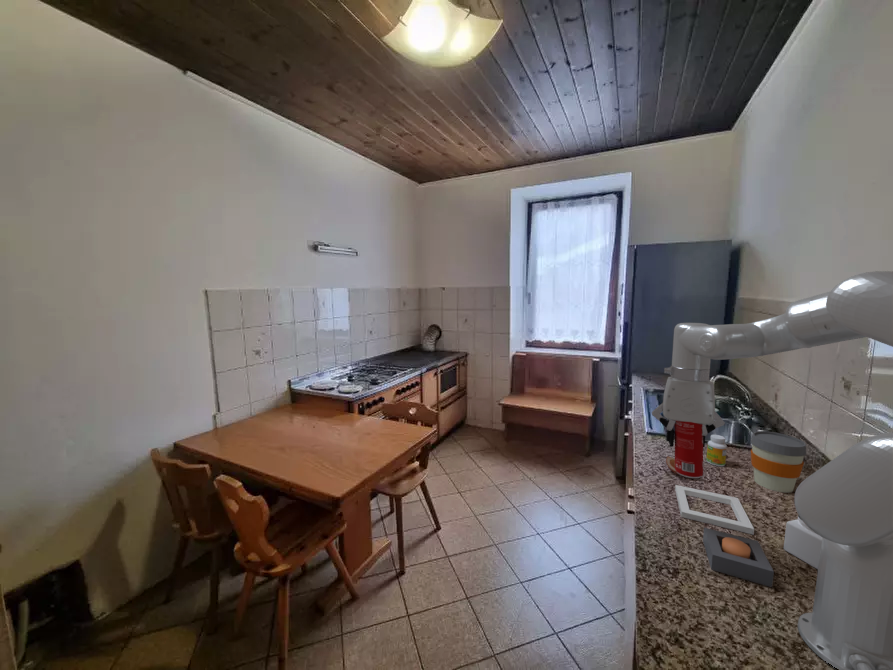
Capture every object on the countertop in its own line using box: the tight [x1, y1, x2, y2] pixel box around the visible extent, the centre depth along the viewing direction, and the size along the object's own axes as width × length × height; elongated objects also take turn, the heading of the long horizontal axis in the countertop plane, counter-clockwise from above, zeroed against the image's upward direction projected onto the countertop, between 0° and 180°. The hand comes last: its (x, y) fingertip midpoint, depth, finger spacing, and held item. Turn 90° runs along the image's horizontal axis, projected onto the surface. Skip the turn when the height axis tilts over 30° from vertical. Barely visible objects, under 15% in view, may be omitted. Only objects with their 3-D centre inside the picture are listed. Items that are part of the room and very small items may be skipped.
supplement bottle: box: [705, 434, 728, 467], centre depth 122 cm, size 5×5×10 cm
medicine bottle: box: [783, 513, 823, 570], centre depth 78 cm, size 7×7×12 cm
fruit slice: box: [665, 455, 681, 476], centre depth 115 cm, size 8×7×5 cm
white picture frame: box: [674, 484, 755, 535], centre depth 96 cm, size 15×15×2 cm
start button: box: [722, 537, 751, 559], centre depth 77 cm, size 5×5×2 cm
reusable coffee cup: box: [750, 430, 807, 494], centre depth 108 cm, size 13×13×15 cm
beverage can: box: [673, 421, 704, 479], centre depth 85 cm, size 6×6×15 cm
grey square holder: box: [702, 527, 775, 588], centre depth 77 cm, size 10×10×4 cm
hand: (684, 446), depth 86 cm, fingers closed on beverage can, 5 cm apart
